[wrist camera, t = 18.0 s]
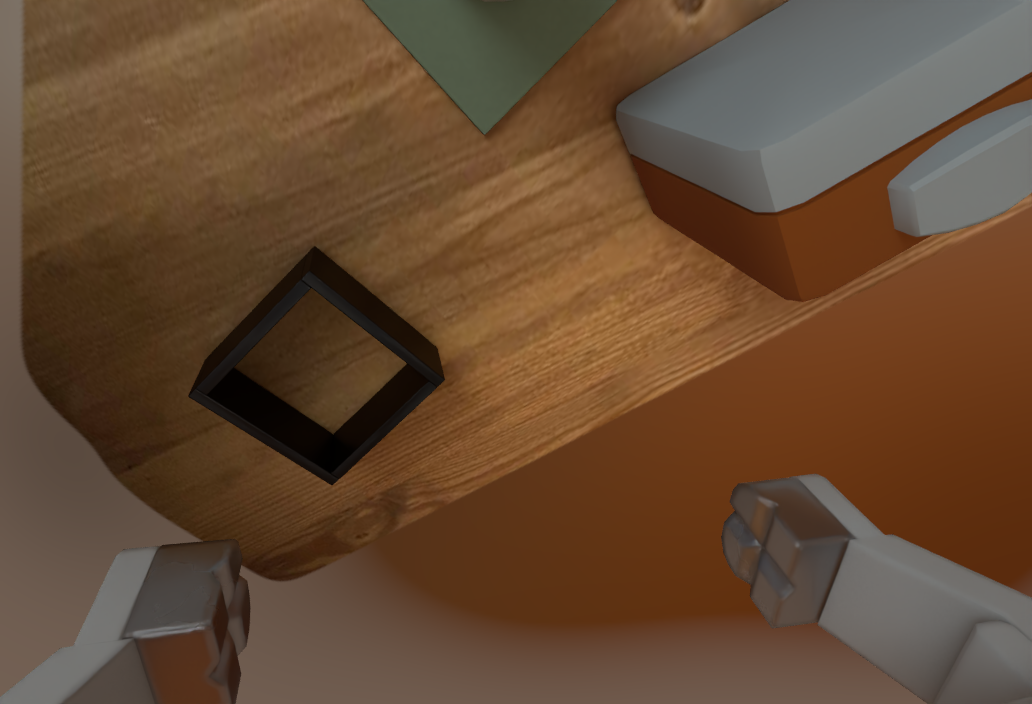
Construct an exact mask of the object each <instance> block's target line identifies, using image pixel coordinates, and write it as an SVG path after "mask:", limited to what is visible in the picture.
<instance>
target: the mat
mask: <svg viewBox="0 0 1032 704" xmlns="http://www.w3.org/2000/svg"><path fill="white" fill-rule="evenodd" d="M363 1H364V2H365V4H366V5H367V6H368V7H369V8H370V9H371V10H372V11H373V12H374V14H375V15H376V16H377V17H378V18H379V19H380V20H381V21H382V22H383V24H384V25H385V26H386V27H387V28H388V29H389V30H390V31H391V32H392V34H393V35H394V36H395V37H396V38H397V39H398V40H399V41H400V42H401V44H402V45H403V46H404V47H405V48H406V49H407V50H408V51H409V52H410V54H411V55H412V56H413V57H414V58H415V59H416V60H417V61H418V62H419V63H420V65H421V66H422V67H423V68H424V69H425V70H426V71H427V72H428V73H429V75H430V76H431V77H432V78H433V79H434V80H435V81H436V82H437V83H438V85H439V86H440V87H441V88H442V89H443V90H444V91H445V92H446V93H447V95H448V96H449V97H450V98H451V99H452V100H453V101H454V102H455V103H456V105H457V106H458V107H459V108H460V109H461V110H462V111H463V112H464V113H465V115H466V116H467V117H468V118H469V119H470V120H471V121H472V122H473V123H474V125H475V126H476V127H477V128H478V129H479V130H480V131H481V132H482V133H483V134H484V135H485V134H486V133H487V132H488V131H489V130H490V129H491V128H492V127H493V126H494V125H495V124H496V123H497V122H498V121H499V120H500V119H501V118H502V117H503V116H504V115H505V114H506V113H507V112H508V111H509V110H510V109H511V108H512V107H513V106H514V105H515V104H516V103H517V102H518V101H519V100H520V99H521V98H522V97H523V96H524V95H525V94H526V93H527V92H528V91H529V90H530V89H531V88H532V87H533V86H534V85H535V84H536V83H537V82H538V81H539V80H540V79H541V78H542V77H543V76H544V75H545V74H546V72H547V71H548V70H549V69H550V68H551V67H552V66H553V65H554V64H555V63H556V62H557V61H558V60H559V59H560V58H561V57H562V56H563V55H564V54H565V53H566V52H567V51H568V50H569V49H570V48H571V47H572V46H573V45H574V44H575V43H576V42H577V41H578V40H579V39H580V38H581V37H582V36H583V35H584V34H585V33H586V32H587V31H588V30H589V29H590V28H591V27H592V26H593V25H594V24H595V23H596V22H597V21H598V20H599V19H600V18H601V17H602V16H603V15H604V14H605V13H606V12H607V10H608V9H609V8H610V7H611V6H612V5H613V4H614V3H615V2H616V1H617V0H510V1H491V2H485V1H482V0H363Z"/></svg>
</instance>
